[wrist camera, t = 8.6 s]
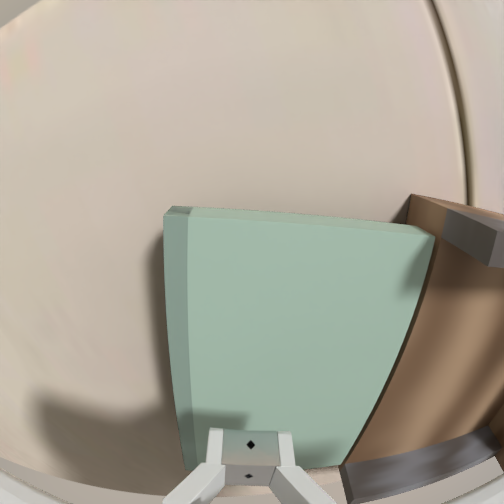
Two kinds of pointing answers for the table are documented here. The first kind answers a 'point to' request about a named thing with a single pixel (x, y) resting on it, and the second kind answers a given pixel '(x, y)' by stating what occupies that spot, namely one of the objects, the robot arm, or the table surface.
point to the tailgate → (285, 323)
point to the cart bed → (441, 364)
